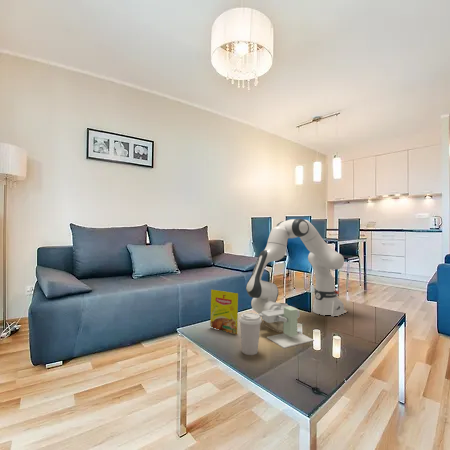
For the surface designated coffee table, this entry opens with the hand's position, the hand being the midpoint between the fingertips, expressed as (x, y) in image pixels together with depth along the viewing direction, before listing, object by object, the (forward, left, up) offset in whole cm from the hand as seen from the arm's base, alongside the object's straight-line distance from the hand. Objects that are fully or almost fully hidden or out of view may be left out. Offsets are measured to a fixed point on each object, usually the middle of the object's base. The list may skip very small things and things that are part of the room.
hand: (291, 319), depth 122 cm
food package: (+24, -23, -10) cm, 35 cm away
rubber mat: (0, -1, -9) cm, 10 cm away
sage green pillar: (0, -1, -7) cm, 7 cm away
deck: (-6, -16, -9) cm, 19 cm away
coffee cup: (+24, +1, -10) cm, 26 cm away
